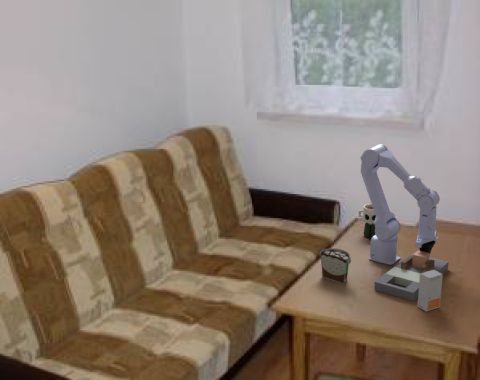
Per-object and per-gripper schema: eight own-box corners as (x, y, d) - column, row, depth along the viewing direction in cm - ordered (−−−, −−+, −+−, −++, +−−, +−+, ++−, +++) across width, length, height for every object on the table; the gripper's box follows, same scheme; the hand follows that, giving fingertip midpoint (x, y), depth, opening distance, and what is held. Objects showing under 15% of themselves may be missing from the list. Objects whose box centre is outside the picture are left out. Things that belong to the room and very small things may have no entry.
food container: (357, 279, 225) (358, 253, 222) (347, 285, 221) (348, 259, 218) (328, 270, 233) (329, 245, 230) (319, 275, 229) (319, 250, 226)
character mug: (356, 237, 262) (357, 208, 258) (359, 231, 269) (360, 202, 265) (383, 240, 259) (384, 210, 255) (385, 234, 265) (386, 205, 261)
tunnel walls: (400, 268, 226) (401, 261, 225) (410, 260, 232) (410, 254, 231) (424, 274, 221) (425, 268, 220) (434, 266, 226) (434, 260, 226)
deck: (374, 289, 217) (374, 281, 216) (411, 260, 239) (412, 253, 239) (412, 300, 209) (413, 292, 208) (447, 269, 231) (448, 261, 230)
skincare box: (426, 312, 201) (428, 278, 198) (417, 306, 205) (419, 273, 201) (440, 307, 204) (443, 274, 200) (431, 302, 208) (433, 269, 204)
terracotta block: (412, 266, 228) (412, 254, 226) (417, 261, 231) (417, 250, 230) (424, 269, 225) (424, 257, 224) (429, 264, 228) (429, 253, 227)
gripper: (429, 233, 219) (427, 269, 223) (445, 220, 229) (443, 255, 233) (410, 228, 223) (408, 264, 227) (427, 217, 233) (425, 250, 238)
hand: (424, 259), depth 230 cm, fingers closed
